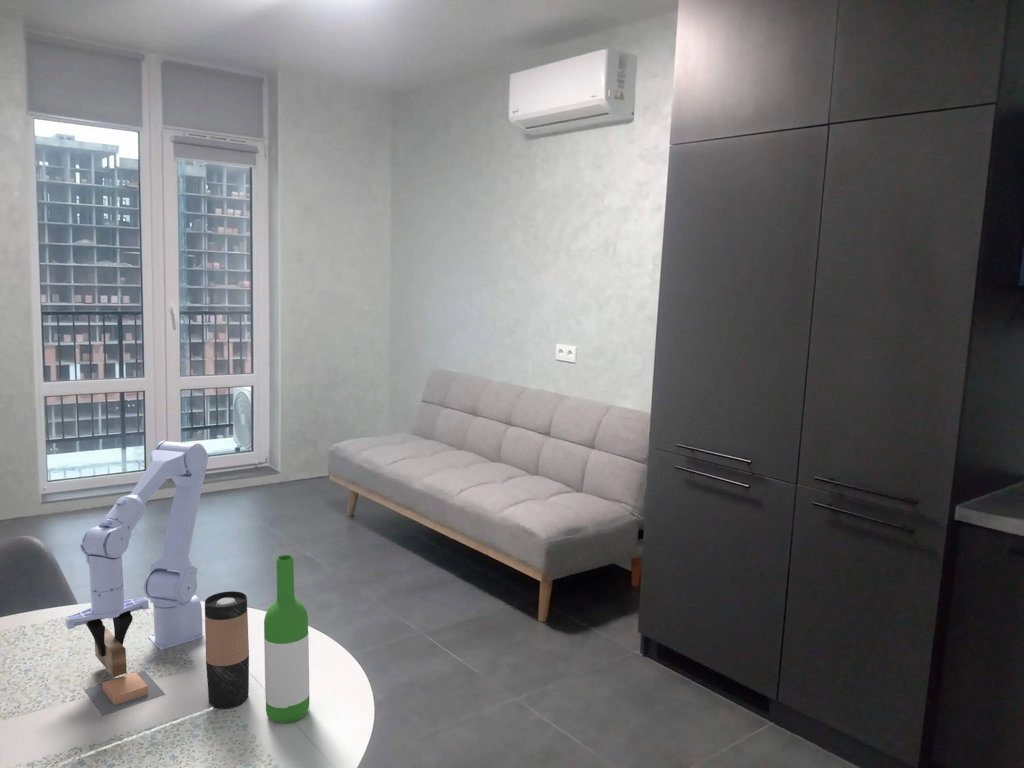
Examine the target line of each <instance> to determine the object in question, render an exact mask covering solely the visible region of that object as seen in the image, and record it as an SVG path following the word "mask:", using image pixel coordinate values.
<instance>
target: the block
mask: <svg viewBox="0 0 1024 768" xmlns="http://www.w3.org/2000/svg"><path fill="white" fill-rule="evenodd" d="M137 673H138V672H136V671H134V672H132V673H128V674H124V675H122V676H121V675H120V676H119V677H118V676H117V677H114V678H113V679H109V680H106V681H103V682H102V683H101V684H102V686H103V691H104V693H105V694H106V695H107V697H108V698H109V699H110V701H111V702H112V703H113V704H114V705H117V704H120V703H123V702H126V701H129V700H132V699H135V698H138V697H141V696H144V695H147V694H148V686H147V684H146V683H145V682H144V681H143V680H142V679H141V678H140V677H139V675H138V674H137Z"/></svg>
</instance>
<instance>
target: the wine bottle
mask: <svg viewBox="0 0 1024 768" xmlns="http://www.w3.org/2000/svg"><path fill="white" fill-rule="evenodd" d="M294 566H295V565H294V556H293V555H291V554H290V555H289V554H283V555H280V556H278V557H277V558H276V600H275V601H273V603H271V605H270V606H269V607H268V608H267V611H266V613H265V615H264V621H263V628H264V629H263V632H264V634H263V641H264V642H263V643H264V644H263V645H264V649H263V650H264V651H263V652H264V687H265V688H264V689H265V690H264V692H265V695H264V696H265V697H264V699H265V712H266V716H267V718H268V719H269V720H271V721H272V722H274V723H278V724H286V723H287V724H288V723H292V722H293V723H294V722H297V721H299V720H300V719H302V718H303V717H305V716H306V714H307V713H308V712H309V709H310V653H309V652H310V649H309V648H310V647H309V642H310V641H309V640H310V639H309V615H308V611H307V609H306V607H305V605H304V604H303V603H302V602H301V601H300V600H298V599H296V597H295V569H294Z"/></svg>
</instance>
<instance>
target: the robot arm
mask: <svg viewBox="0 0 1024 768" xmlns="http://www.w3.org/2000/svg"><path fill="white" fill-rule="evenodd" d="M208 460H209V454H208V452H207V450H206V449H205V447H204V445H203V444H201V443H199V442H198V443H196V442H195V443H194V442H193V443H191V442H190V443H189V442H178V441H177V442H176V441H169V440H162V441H159V442H158V444H156V445H155V448H154V450H153V451H151V453H150V463H149V465H148V466H147V468H146V470H145V471H144V473H143V474H142V475H141V477H140V479H139V480H138V481H137V484H136V485H135V487H134V488H133V490H132V491H131V492H130V494H128V495H123V496H120V498H118V499H117V500H116V501H115V504H113V506H112V508H111V509H110V510H109V512H108V513H107V514H106V515H105V516H104V517H103V519H102V520H101V522H100V523H99V524H98V525H96V526H94V527H91V528H90V529H88V530H87V531H86V532H85V534H84V535H83V537H82V543H81V544H79V545H80V551H81V552H82V554H83V555H85V559H86V563H87V564H88V567H89V587H90V603H91V604H90V605H91V607H89V608H86V609H84V610H82V611H79V612H77V613H74V614H69V615H67V616H65V617H64V618H65V627H66V628H67V629H68V630H72V629H75V628H76V627H77V626H81V625H86V627H87V628H88V630H89V631H90V633H91V635H92V637H93V640H94V643H95V642H96V645H97V648H98V653H99V654H100V656H101V657H102V656H105V642H104V636H105V629H106V626H105V625H104V624H103V623H104V622H103V621H102V620H105V619H109V620H110V619H112V622H113V623H112V624H113V628H114V629H113V630H114V637H115V638H116V639H117V640H118V641H119V642H120V643H121V644H122V645H123V646H124V642H125V641H124V640H125V638H126V634H127V633H128V630H129V627H130V626H131V624H132V622H133V620H134V619H133V615H132V614H131V613H133V612H136V611H140V610H143V611H144V610H145V611H146V610H149V608H150V607H149V606H150V605H149V601H150V603H151V604H152V605H153V627H154V632H153V633H154V634H151V635H149V636H148V639H149V640H150V642H152V643H153V645H155V647H156V648H157V649H159V650H165V649H168V648H172V647H175V646H179V645H182V644H186V643H189V642H192V641H196V640H198V639H203V638H205V634H203V633H204V632H203V607H202V603H201V600H200V598H199V597H198V595H196V592H197V589H198V580H197V573H198V567H197V566H196V565H195V564H194V563H193V561H191V560H190V558H189V555H190V551H191V546H192V541H193V535H194V529H195V525H196V519H197V515H198V509H199V504H200V499H201V494H202V489H203V482H204V481H205V477H206V470H207V464H208ZM168 478H171V479H172V481H173V482H174V485H175V491H174V494H173V495H174V496H173V502H172V504H171V511H170V516H169V521H168V524H167V525H168V526H167V530H166V535H165V541H164V545H163V550H162V555H161V556H160V557H159V558H158V559H156V560H155V561H153V562H152V563H150V568H149V572H148V573H147V576H146V577H145V579H144V582H143V593H144V595H145V596H146V597H145V596H143V597H139V598H138V597H137V598H131V599H125V595H124V594H125V592H124V591H125V590H124V573H123V572H124V570H123V555H124V553H125V552H127V550H128V548H129V542H130V539H131V537H132V534H133V533H132V532H133V530H134V529H135V527H136V526H137V525H138V524H139V523H140V521H141V519H142V518H143V517H144V515H145V514H146V512H147V507H146V503H147V502H148V501H149V500H150V498H152V497H153V495H154V494H155V493H156V492H157V491H158V489H160V487H161V486H162V485H163V484H164V482H166V480H167V479H168ZM148 598H149V599H150V600H149V599H148Z"/></svg>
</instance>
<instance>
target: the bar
mask: <svg viewBox="0 0 1024 768" xmlns="http://www.w3.org/2000/svg"><path fill="white" fill-rule="evenodd" d="M104 642H105V656H102V657H101V656H100V654H99V653H98V648H97V645H96V642H95V641H94V654H95V657H96V658H97V659H98V660H99V662H100V663H101V664H102V666H103V667H105V669H106V670H107V671H108V673H109V674H110V675H111V676H112V677H113V678H117V677H118V676H119V677H120V676H121V675H122V676H123V675H126V674H127V673H128V672H127V654H126V653H127V652H126V647H125V646H124V644H123V645H122V644H121V643H120V642H119V641H118V640H117V639H116V638H115V635H114V634H112V632H111V631H110V630H109V629H108V628H105V636H104Z"/></svg>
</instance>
